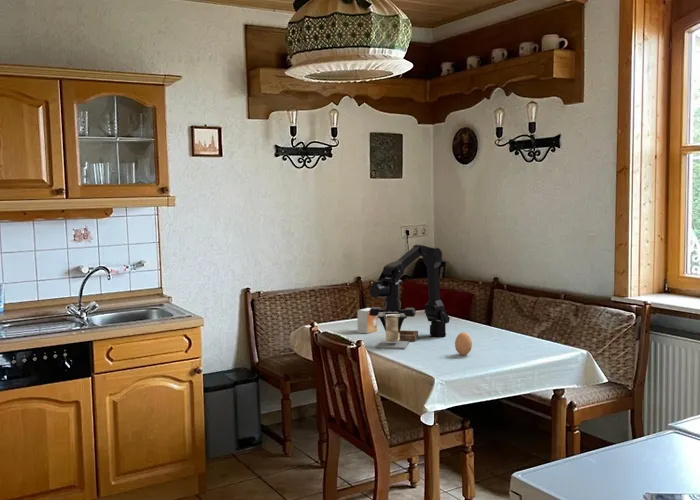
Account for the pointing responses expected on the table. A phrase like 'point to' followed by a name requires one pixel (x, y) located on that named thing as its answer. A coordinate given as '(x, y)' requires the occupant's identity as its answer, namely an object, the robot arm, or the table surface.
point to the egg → (463, 343)
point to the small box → (366, 321)
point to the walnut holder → (408, 335)
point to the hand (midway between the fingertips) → (392, 332)
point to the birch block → (392, 329)
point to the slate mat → (392, 345)
